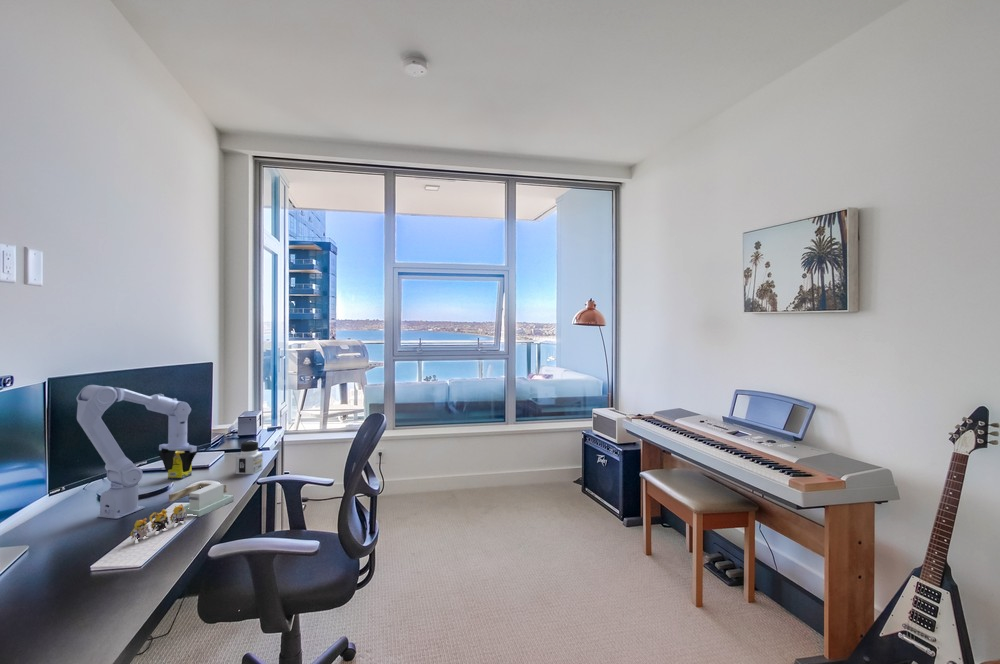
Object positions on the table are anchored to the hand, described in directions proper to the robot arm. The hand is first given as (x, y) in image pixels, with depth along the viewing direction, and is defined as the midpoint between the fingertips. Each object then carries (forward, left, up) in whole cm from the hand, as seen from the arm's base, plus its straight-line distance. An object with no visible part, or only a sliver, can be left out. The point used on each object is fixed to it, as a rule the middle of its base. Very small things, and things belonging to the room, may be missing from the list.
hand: (177, 470), depth 166 cm
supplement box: (+18, +18, -10) cm, 27 cm away
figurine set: (-26, -22, -10) cm, 35 cm away
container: (+31, -4, -10) cm, 33 cm away
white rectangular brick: (-7, -20, -9) cm, 22 cm away
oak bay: (+1, -8, -9) cm, 12 cm away
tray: (-7, -20, -9) cm, 23 cm away
